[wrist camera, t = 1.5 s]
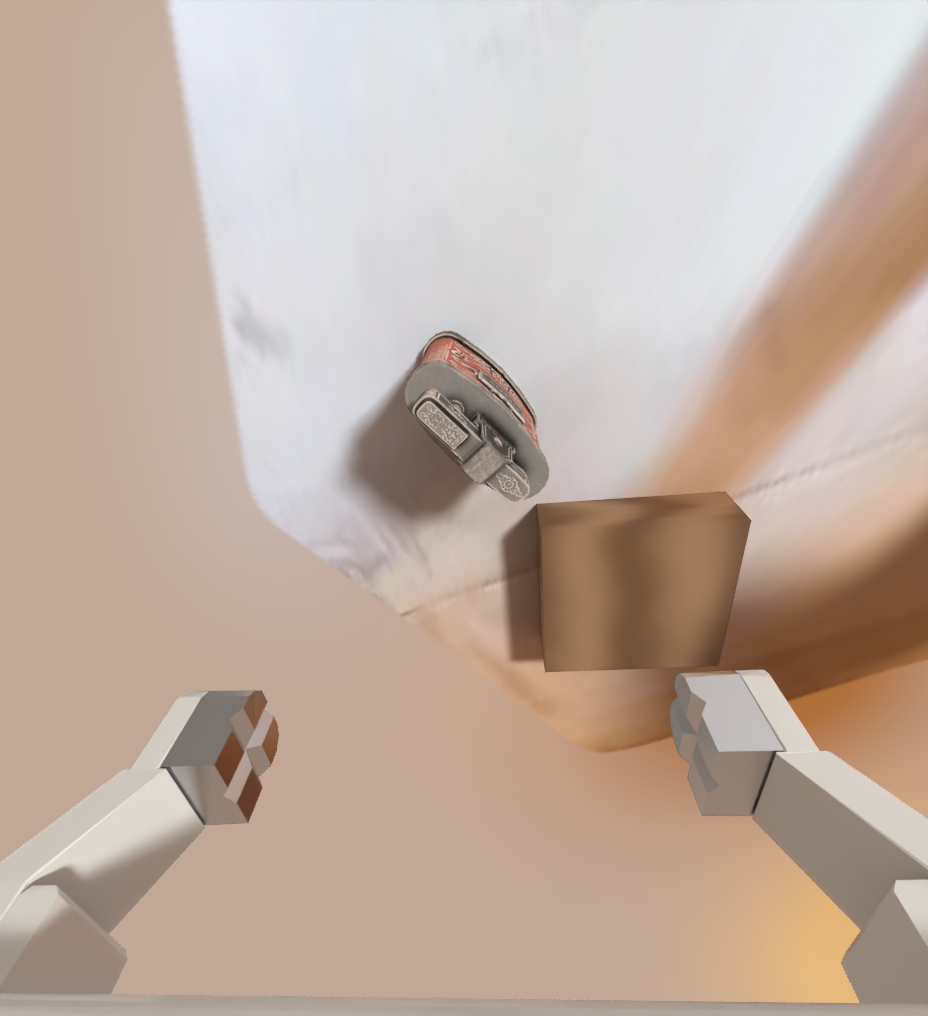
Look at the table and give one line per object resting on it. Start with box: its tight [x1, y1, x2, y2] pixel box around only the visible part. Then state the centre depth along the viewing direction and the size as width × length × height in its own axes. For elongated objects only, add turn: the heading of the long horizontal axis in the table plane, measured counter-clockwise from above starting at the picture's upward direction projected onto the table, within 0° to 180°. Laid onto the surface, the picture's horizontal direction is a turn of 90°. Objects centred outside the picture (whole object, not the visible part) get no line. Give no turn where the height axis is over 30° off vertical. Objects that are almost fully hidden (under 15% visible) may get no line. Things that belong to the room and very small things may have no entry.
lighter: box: [404, 331, 549, 503], centre depth 24 cm, size 8×3×10 cm, turn 46°
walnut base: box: [537, 492, 751, 672], centre depth 33 cm, size 12×12×4 cm
